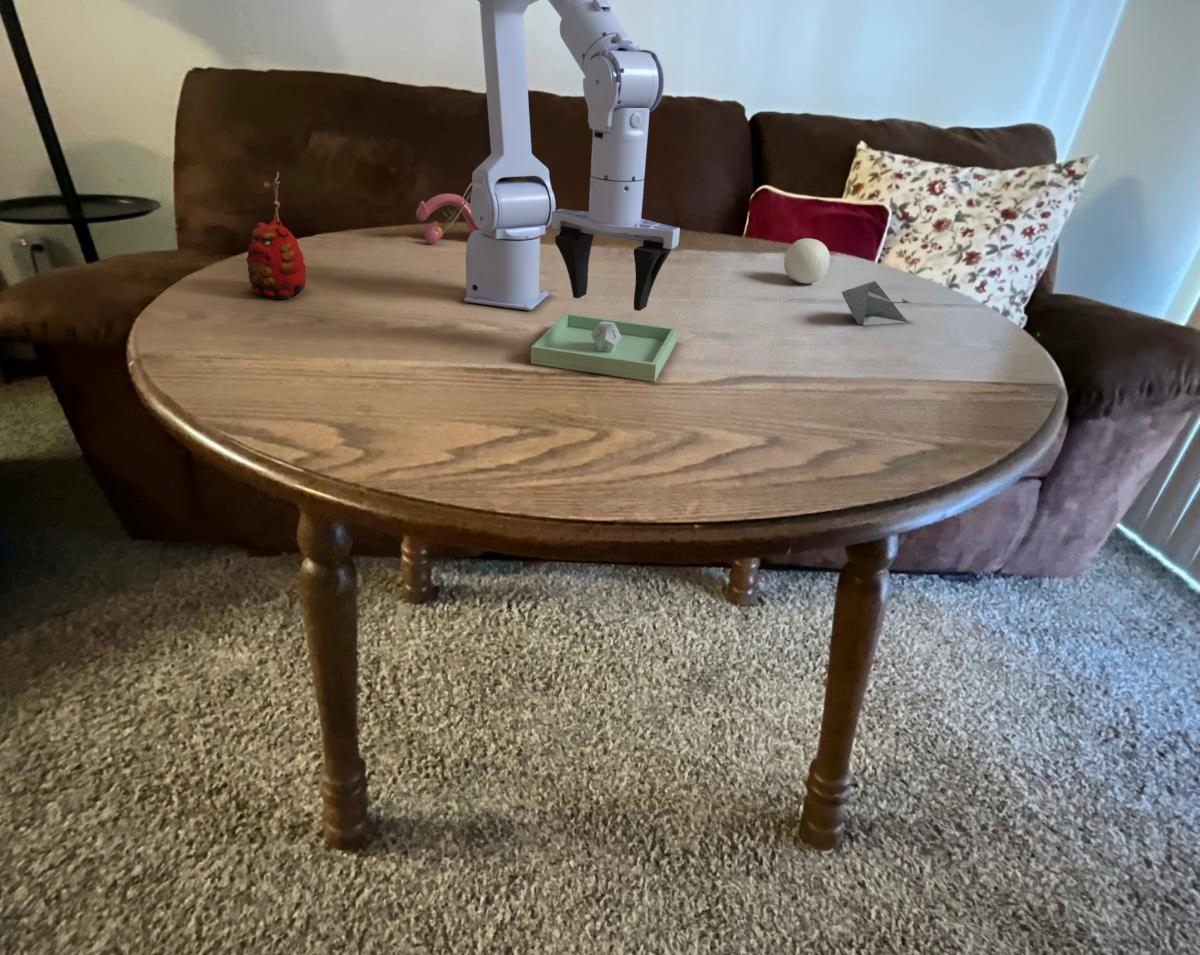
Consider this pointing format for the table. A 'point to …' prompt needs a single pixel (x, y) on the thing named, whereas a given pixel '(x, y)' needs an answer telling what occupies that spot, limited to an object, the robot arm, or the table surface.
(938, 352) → the table surface
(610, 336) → the game die
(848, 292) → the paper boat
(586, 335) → the tray
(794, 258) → the cream white ball
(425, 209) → the anatomy model
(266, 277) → the red clay folk toy
